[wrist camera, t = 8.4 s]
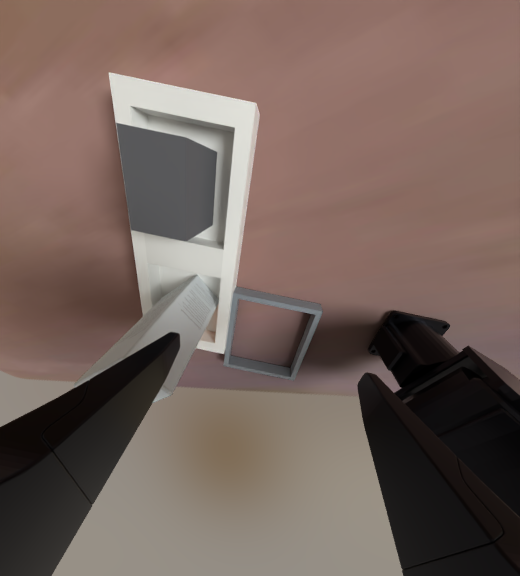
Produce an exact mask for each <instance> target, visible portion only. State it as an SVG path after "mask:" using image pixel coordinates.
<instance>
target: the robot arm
mask: <svg viewBox="0 0 520 576" xmlns="http://www.w3.org/2000/svg"><path fill="white" fill-rule="evenodd" d="M395 315H396V316H395ZM449 327H450V325H449V324H448V323H447V322H446V321H442V320H437V319H432V318H427V317H422V316H418V315H413V314H408V313H403V312H399V311H393V312H391V313H390V315H389V316H388V318H387V320H386V321H385V323H384V324H383V326H382V327H381V329H380V331H379V332H378V334H377V335H376V337H375V338H374V340H373V342H372V343H371V345H370V347H369V348H368V351H369V353H370V354H373V355H378V356H380V357H381V358H382V360H383V362H384V364H385V366H386V367H387V369H388V370H390V371H391V372H392V374H393V375H394V377H395V379H396V381H397V382H398V384H399V386H400V387H401V389H400V390H398V391H396V392H395V393H393V392H392V391H391V390H390V389H389V388H388V387H387V386H386V385H385V383H384V382H383V381H382V380H381V379H380V378H379V377H378V376H377V375H375V374H372V373H365V374H364V375H363V376H362V378H361V379H360V381H359V382H358V393H359V399H360V405H361V411H362V418H363V422H364V427H365V431H366V434H367V438H368V442H369V446H370V450H371V454H372V457H373V461H374V465H375V469H376V472H377V476H378V480H379V484H380V488H381V491H382V495H383V499H384V503H385V507H386V510H387V515H388V518H389V522H390V526H391V530H392V534H393V537H394V541H395V545H396V549H397V552H398V556H399V560H400V564H401V568H402V569H403V570H402V572H403V576H520V380H519V379H518V378H516V377H515V376H514V375H513V374H511V373H510V372H509V371H508V370H506V369H505V368H504V367H502V366H500V365H499V364H497V363H496V362H494V361H492V360H491V359H489V358H488V357H486V356H484V355H483V354H481V353H479V352H478V351H476V350H475V349H473V348H471V347H470V346H467V347H466V348H464V349H462V350H463V351H462V352H460V353H459V352H458V351H457V350H456V349H455V348H454V347H453V346H452V345H451V344H450V343H449V342H448V341H447V340H446V339H445V338H444V337H443V334H444V333H445V332H446V331H447V330H448V329H449ZM179 349H180V334H179V333H176V332H169V333H167V334H166V335H164V336H162V337H161V338H159V339H157V340H156V341H154V342H152V343H150V344H149V345H147V346H145V347H144V348H142V349H140V350H139V351H137V352H135V353H133V354H132V355H130V356H128V357H127V358H125V359H123V360H122V361H120V362H118V363H116V364H115V365H113V366H111V367H110V368H108V369H106V370H105V371H103V372H101V373H99V374H98V375H96V376H94V377H93V378H91V379H90V381H89V380H87V381H86V382H84V383H82V384H81V385H79V386H77V387H75V388H74V389H72V390H70V391H68V392H67V393H65V394H63V395H61V396H60V397H58V398H56V399H54V400H52V401H50V402H48V403H46V404H45V405H43V406H41V407H39V408H37V409H35V410H33V411H31V412H29V413H27V414H25V415H23V416H21V417H19V418H17V419H15V420H13V421H11V422H9V423H8V424H6V425H4V426H2V427H0V576H52V574H53V572H54V570H55V569H56V567H57V565H58V564H59V562H60V560H61V559H62V557H63V555H64V553H65V552H66V550H67V548H68V546H69V545H70V543H71V541H72V540H73V538H74V536H75V535H76V533H77V531H78V529H79V528H80V526H81V524H82V523H83V521H84V519H85V517H86V516H87V514H88V512H89V511H90V509H91V507H92V504H93V503H94V502H95V500H96V498H97V497H98V495H99V493H100V492H101V490H102V488H103V486H104V485H105V483H106V481H107V480H108V478H109V476H110V474H111V473H112V471H113V469H114V468H115V466H116V464H117V463H118V461H119V459H120V457H121V456H122V454H123V452H124V451H125V449H126V447H127V445H128V444H129V442H130V440H131V439H132V437H133V435H134V434H135V432H136V430H137V428H138V427H139V425H140V423H141V421H142V420H143V418H144V416H145V415H146V413H147V411H148V410H149V408H150V406H151V405H152V403H153V401H154V399H155V398H156V396H157V394H158V393H159V391H160V389H161V387H162V386H163V384H164V382H165V380H166V378H167V376H168V374H169V372H170V369H171V367H172V365H173V363H174V361H175V358H176V356H177V354H178V352H179Z"/></svg>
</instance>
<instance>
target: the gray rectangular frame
mask: <svg viewBox="0 0 520 576" xmlns="http://www.w3.org/2000/svg"><path fill="white" fill-rule="evenodd" d="M239 299H242V300H247V301H252V302H256V303H261V304H266V305H271V306H276V307H280V308H285V309H290V310H295V311H299V312H304V313H309V314H311V316H310V319H309V321H308V324H307V326H306V329H305V332H304V334H303V337H302V339H301V342H300V345H299V347H298V350H297V352H296V355H295V358H294V360H293V363H292V365H291V368H288V367H283V366H278V365H274V364H269V363H264V362H259V361H255V360H250V359H245V358H240V357H235V356H231V350H232V343H233V337H234V330H235V324H236V317H237V311H238V304H239ZM322 313H323V311H322V307H321V304H317V303H312V302H308V301H303V300H298V299H293V298H289V297H284V296H279V295H274V294H269V293H265V292H260V291H255V290H250V289H245V288H241V287H236V288H235V290H234V292H233V298H232V305H231V313H230V320H229V328H228V335H227V343H226V351H225V358H224V366H226V367H231V368H236V369H240V370H245V371H250V372H255V373H259V374H264V375H269V376H274V377H279V378H283V379H288V380H293V381H294V380H295V377H296V375H297V372H298V370H299V368H300V365H301V363H302V360H303V358H304V356H305V353H306V351H307V348H308V346H309V344H310V341H311V339H312V336H313V334H314V332H315V329H316V327H317V325H318V322H319V320H320V317H321V315H322Z"/></svg>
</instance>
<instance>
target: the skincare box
mask: <svg viewBox="0 0 520 576" xmlns="http://www.w3.org/2000/svg"><path fill="white" fill-rule="evenodd" d="M218 303H219V299H218V298H217V297H216V295H215V294H214V293H213V292H212V291H211V290H210V289H209V287H208V286H207V285H206V284H205V283H204V282H203V280H202V279H201V278H200V277H199V276H198V275H195V276H194V277H192V278H191V279H189V280H188V281H186V282H185V283H183V284H182V285H180V286H179V287H177V288H176V289H174V290H173V291H171V292H170V293H168V294H167V295H166V296H164V297H162V298H161V299H160V300H159V301H158V302H157V303H156V304H155V305H154V306H153V307H152V308H151V309H150V310H149V311H148V312H147V313H146V314H145V315H144V316H143V317H142V318H141V319H140V320H139V321H138V322H137V323H136V324H135V325H134V326H133V327H132V328H131V329H130V330H129V331H128V332H127V333H126V334H125V335H124V336H123V337H122V338H121V339H119V340H118V341H117V342H116V343H115V344H114V345H113V346H112V347H111V348H110V349H109V350H108V351H107V352H106V353H105V354H104V355H103V356H102V357H101V358H100V359H99V360H98V361H97V362H96V363H95V364H94V365H93V366H92V367H91V368H90V369H89V370H88V371H87V372H86V373H85V374H84V375H83V376H82V377H81V378H80V379H79V380H78V381H77V382H76V383H75V384H74V387H77V386H79V385H81V384H82V383H84V382H86V381H87V380H89V381H90V379H91V378H93V377H94V376H96V375H98V374H99V373H101V372H103V371H105V370H106V369H108V368H110V367H111V366H113V365H115V364H116V363H118V362H120V361H122V360H123V359H125V358H127V357H128V356H130V355H132V354H133V353H135V352H137V351H139V350H140V349H142V348H144V347H145V346H147V345H149V344H150V343H152V342H154V341H156V340H157V339H159V338H161V337H162V336H164V335H166V334H167V333H169V332H176V333H179V334H180V349H179V352H178V354H177V356H176V358H175V361H174V363H173V365H172V367H171V369H170V372H169V374H168V376H167V378H166V380H165V382H164V384H163V386H162V387H161V389H160V391H159V393H158V394H157V396H156V398H155V399H154V401H153V403H154V402H157V401H159V400H161V399H164V398H166V397H169V396H171V395H172V394H173V392H174V390H175V388H176V386H177V384H178V382H179V380H180V378H181V376H182V374H183V372H184V370H185V368H186V366H187V364H188V362H189V360H190V358H191V356H192V354H193V352H194V351H195V349H196V347H197V345H198V343H199V341H200V339H201V337H202V335H203V333H204V331H205V329H206V327H207V325H208V323H209V321H210V319H211V317H212V315H213V313H214V311H215V309H216V307H217V305H218Z"/></svg>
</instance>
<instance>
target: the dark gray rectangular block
mask: <svg viewBox="0 0 520 576" xmlns="http://www.w3.org/2000/svg"><path fill="white" fill-rule="evenodd" d="M116 126H117V133H118V141H119V148H120V155H121V162H122V169H123V176H124V183H125V190H126V198H127V205H128V212H129V219H130V226H131V230H133V231H138V232H143V233H148V234H152V235H157V236H162V237H167V238H171V239H176V240H181V241H186V242H187V241H188V240H190V239H191V238H193V237H195V236H196V235H198V234H200V233H201V232H203V231H204V230H206V229H208V228H209V227H211V226H212V225H213V214H214V197H215V181H216V164H217V152H216V151H214V150H212V149H210V148H208V147H206V146H204V145H201V144H199V143H197V142H195V141H193V140H191V139H189V138H186V137H182V136H177V135H173V134H168V133H163V132H158V131H153V130H149V129H144V128H139V127H134V126H129V125H125V124H120V123H116Z"/></svg>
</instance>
